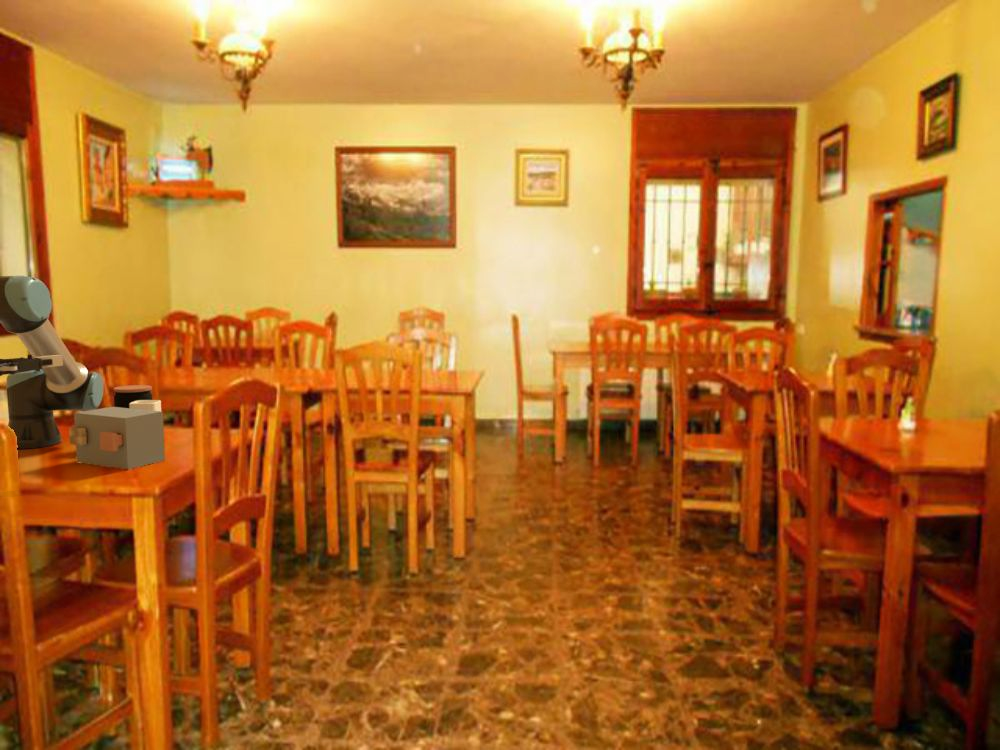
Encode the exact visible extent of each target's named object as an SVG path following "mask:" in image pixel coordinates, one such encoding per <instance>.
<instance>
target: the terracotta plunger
mask: <svg viewBox="0 0 1000 750" xmlns="http://www.w3.org/2000/svg"><path fill="white" fill-rule="evenodd" d="M121 445H123V434H120V433H111V432H101V433H100V447H101V450H106V451H117V450H118V446H121Z"/></svg>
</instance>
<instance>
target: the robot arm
mask: <svg viewBox="0 0 1000 750" xmlns="http://www.w3.org/2000/svg"><path fill="white" fill-rule="evenodd" d="M52 301H53V300H52V299H51V293H50V290H49V289H48V287H47V285H46V284H45V282H43V281H41V280H40V279H39V278H37V277H33V276H24V275H0V324H1V326H2V327H3V328H4V330H5V331H7V332H8V333H11V334H16V335H17V337H18V338H19V340H20V341H21V343H22V344H23V345H24V347H25V349H27V351H28V353H30V354H27V355H26V356H27V357H23V356H22V357H21V356H20V357H19V358H18V357H14V358H0V377H1V376H4V375H7V377H6V381H5V383H6V385H5V390H6V399H7V410H8V411H7V413H8V423H7V427H8V426H9V427H10V428H11V429H13V430H14V432H15V434H16V436H17V445H18V449H19V450H22V449H24V450H25V449H36V448H38V449H39V448H46V447H49V446H54V445H57V444H60V443H62V433H61V432H60V430H59V428H58V425H57V423H56V420H55V418H54V411H80V412H83V411H89V410H95V409H98V408H99V406H100V405H101V402H102V400H103V397H104V396H103V394H104V380H103V379H104V378H103V377H102V374H101V373H99V372H95V371H93V372H89V370H88V369H87V367H86V366H85V365H84V364H83V363H81V362H77V361H76V360H75V358H74V357H73V355H72V354H71V353H70V351H69V349H68V348H67V346H66V345H65V343H64V341H63V340H62V339H61V337H60V335H59V334H58V333H57V330H56V329H55V328H54V326H53V325H52V323H51V322H50V320H49V317H50V314H51V312H52V309H53V302H52ZM18 449H17V450H18Z"/></svg>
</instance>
